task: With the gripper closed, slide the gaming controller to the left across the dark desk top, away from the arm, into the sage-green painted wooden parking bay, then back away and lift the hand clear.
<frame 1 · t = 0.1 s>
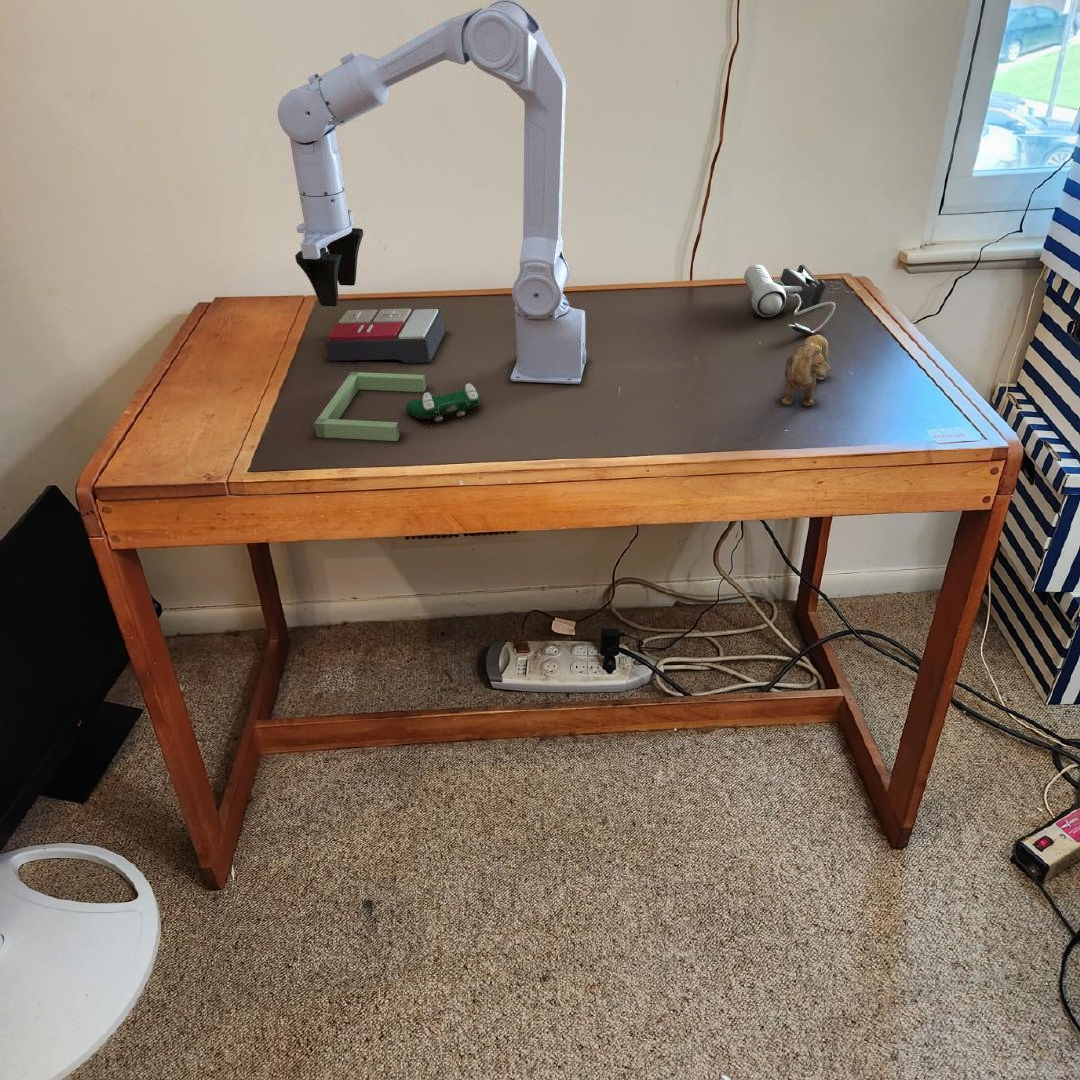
hand: (338, 294, 121), 10 cm above the table, tool pointing down, fingers open, 7 cm apart
lion figurine: (805, 396, 116), on the table
calculator: (388, 348, 132), on the table
gaming controller: (446, 416, 114), on the table
parking bay: (378, 412, 115), on the table
clip-on lamp: (789, 316, 138), on the table
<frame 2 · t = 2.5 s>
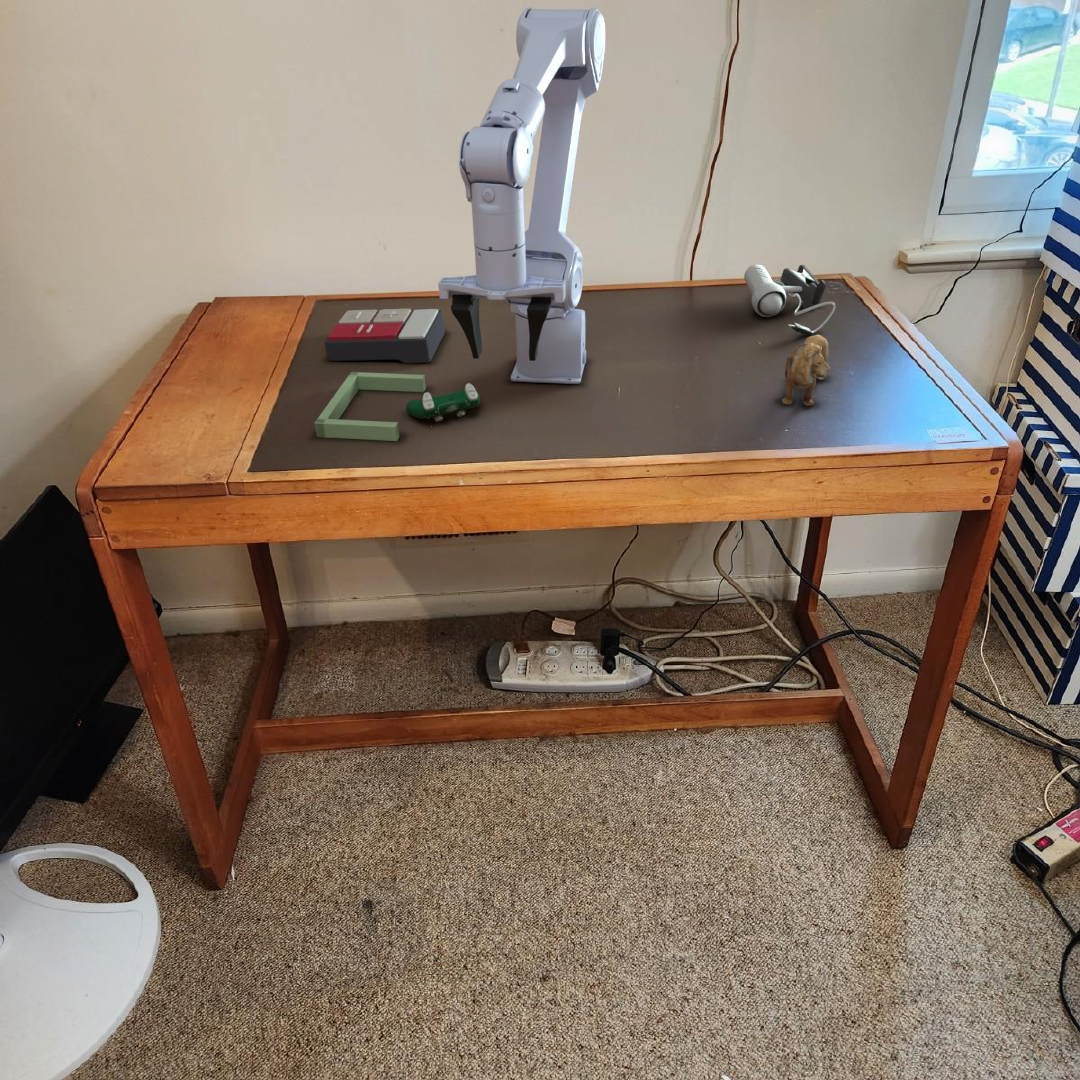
hand: (505, 356, 108), 8 cm above the table, tool pointing down, fingers open, 6 cm apart
nothing on the table moved.
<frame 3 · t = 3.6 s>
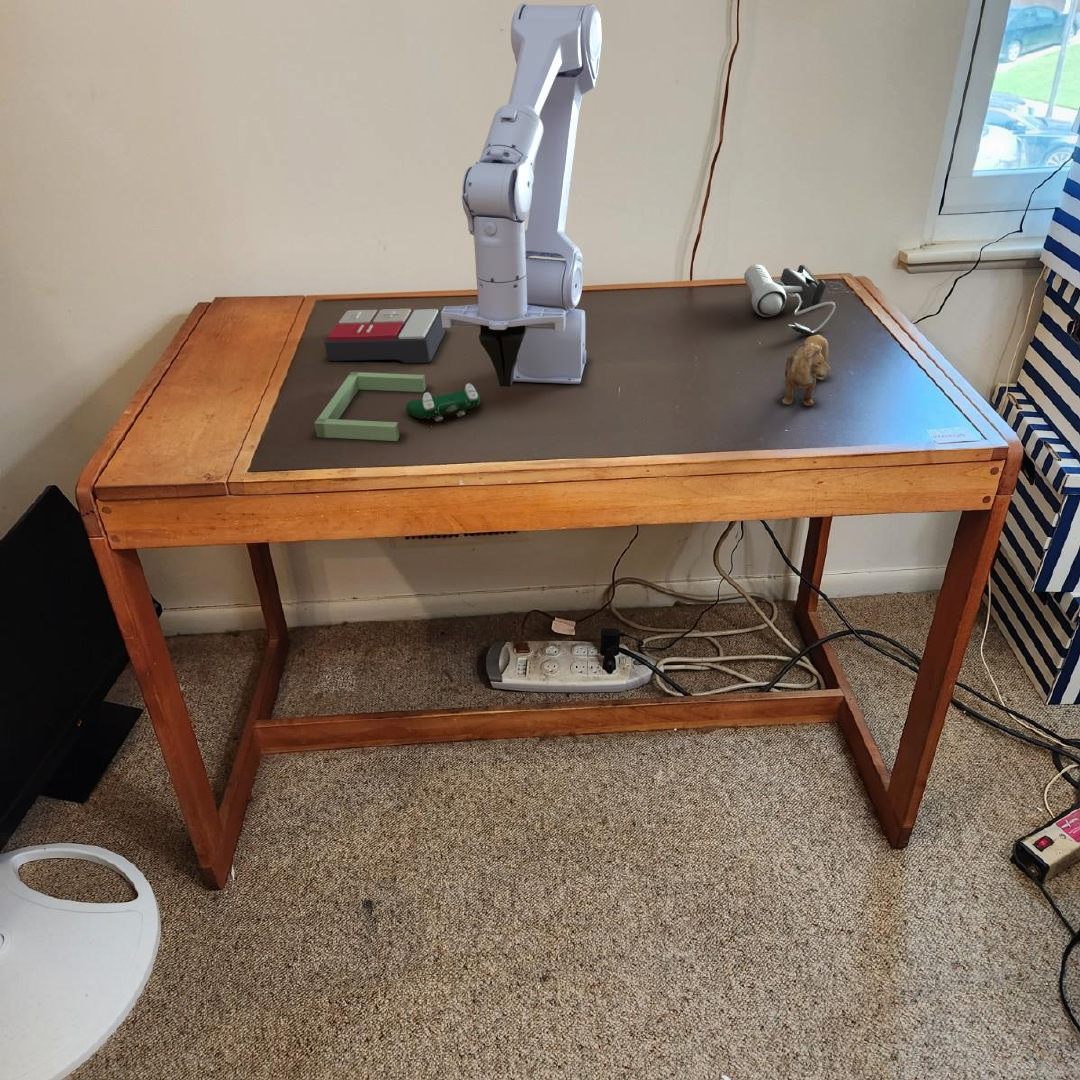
hand: (506, 383, 110), 5 cm above the table, tool pointing down, fingers closed
nothing on the table moved.
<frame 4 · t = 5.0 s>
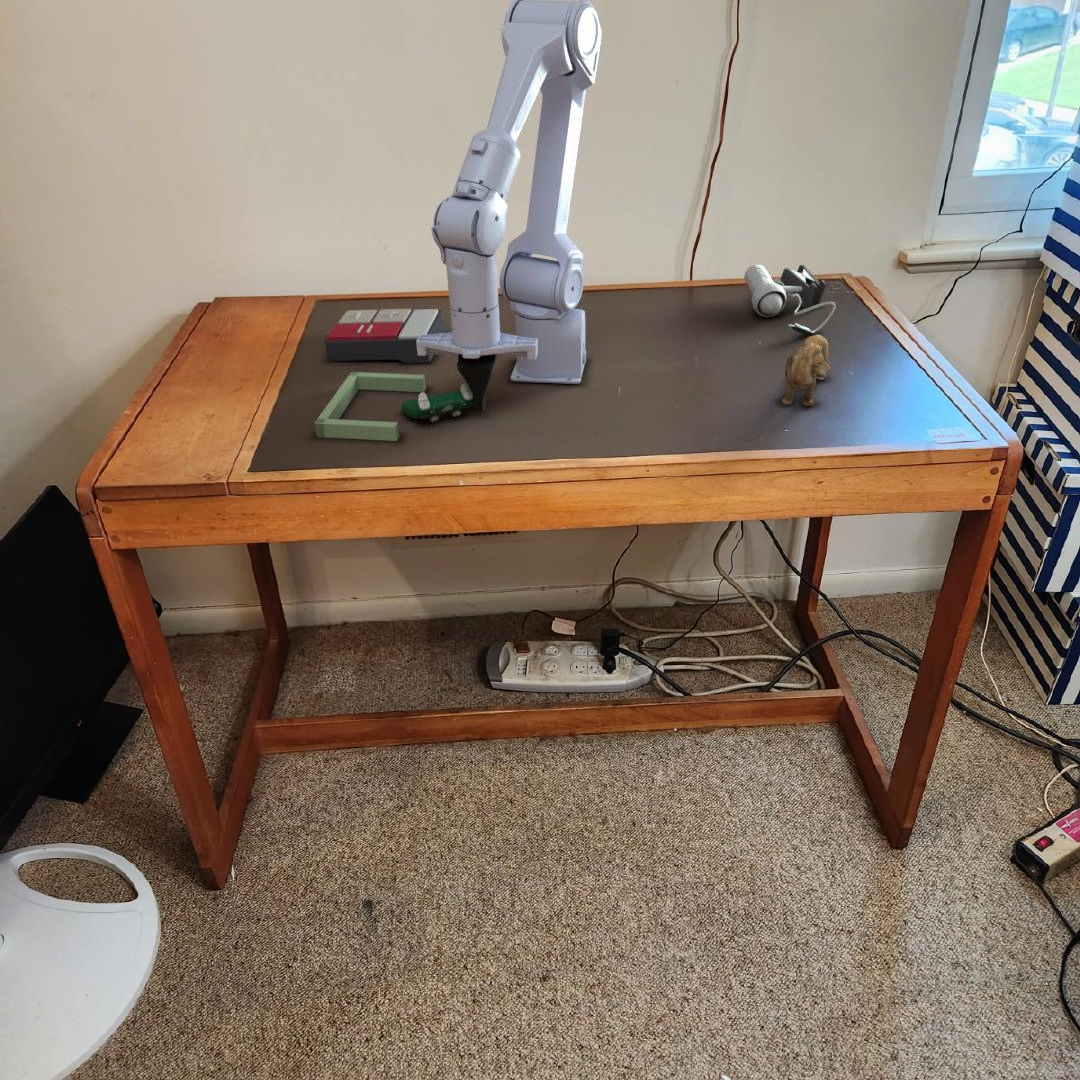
hand: (481, 408, 113), 1 cm above the table, tool pointing down, fingers closed
gaming controller: (442, 416, 114), on the table, touching gripper
everything else where it was.
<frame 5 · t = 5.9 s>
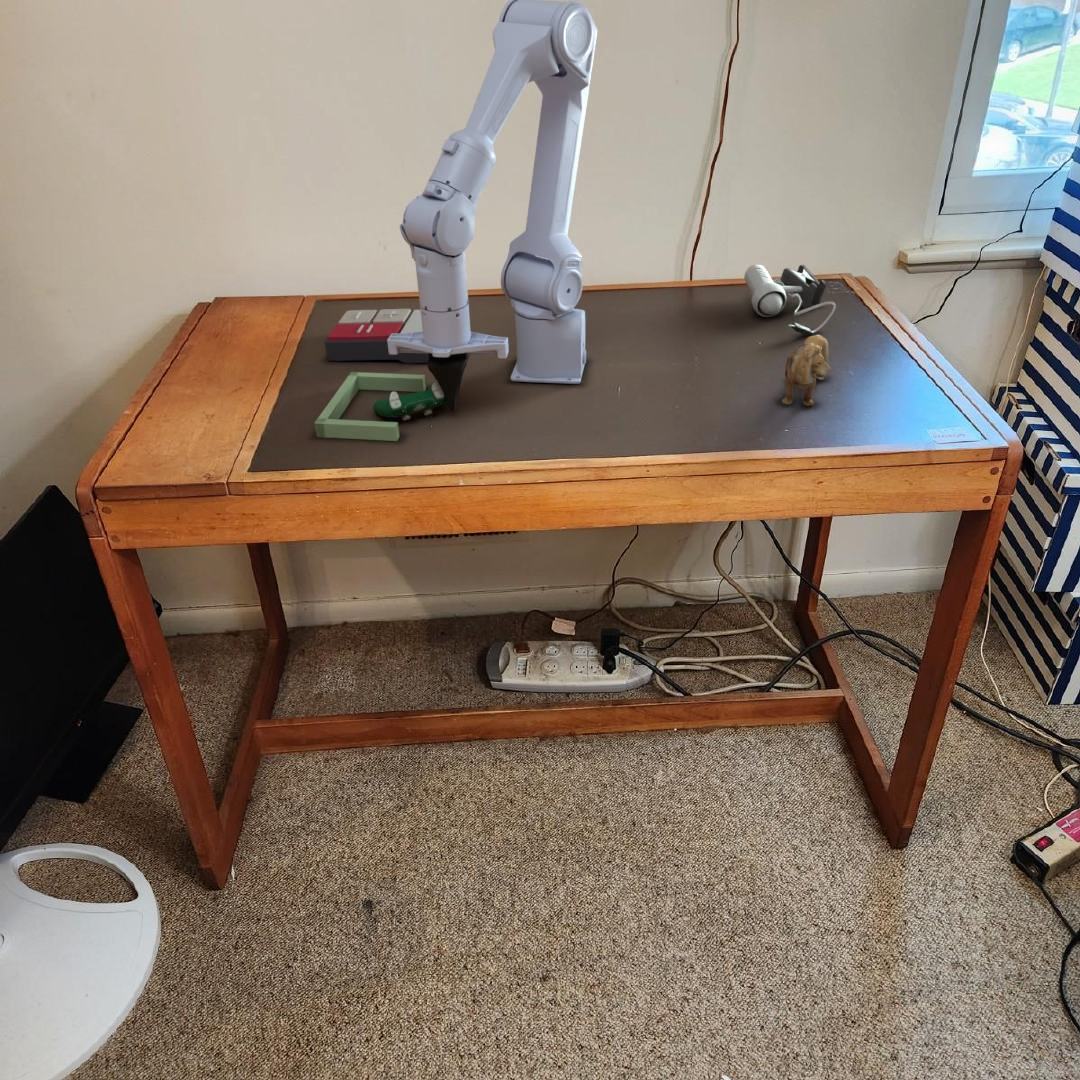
hand: (453, 407, 113), 1 cm above the table, tool pointing down, fingers closed
gaming controller: (414, 415, 115), on the table, touching gripper
everything else where it was.
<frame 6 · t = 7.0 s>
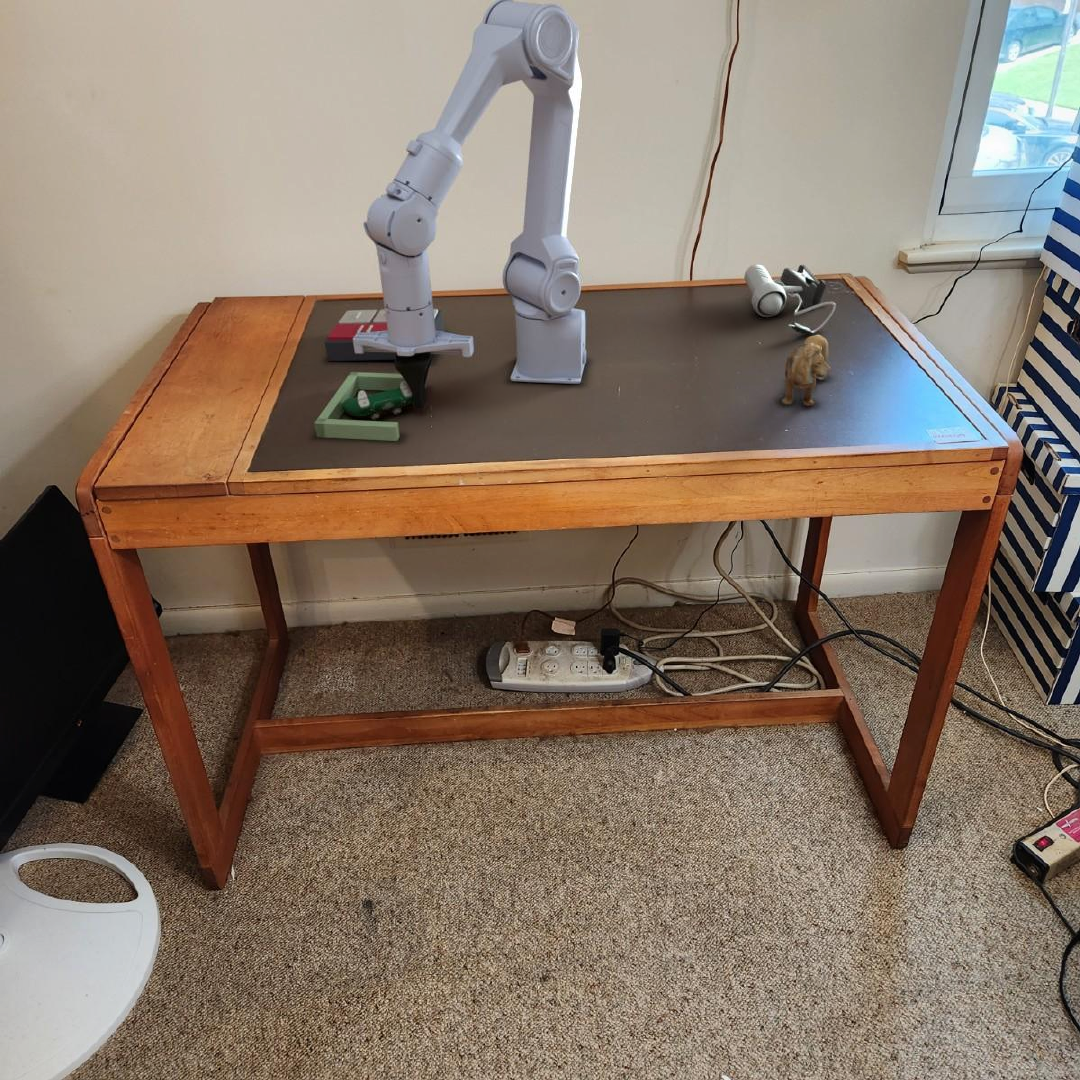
hand: (420, 405, 114), 1 cm above the table, tool pointing down, fingers closed, pressing on gaming controller
gaming controller: (383, 414, 115), on the table, touching gripper, parking bay
everything else where it was.
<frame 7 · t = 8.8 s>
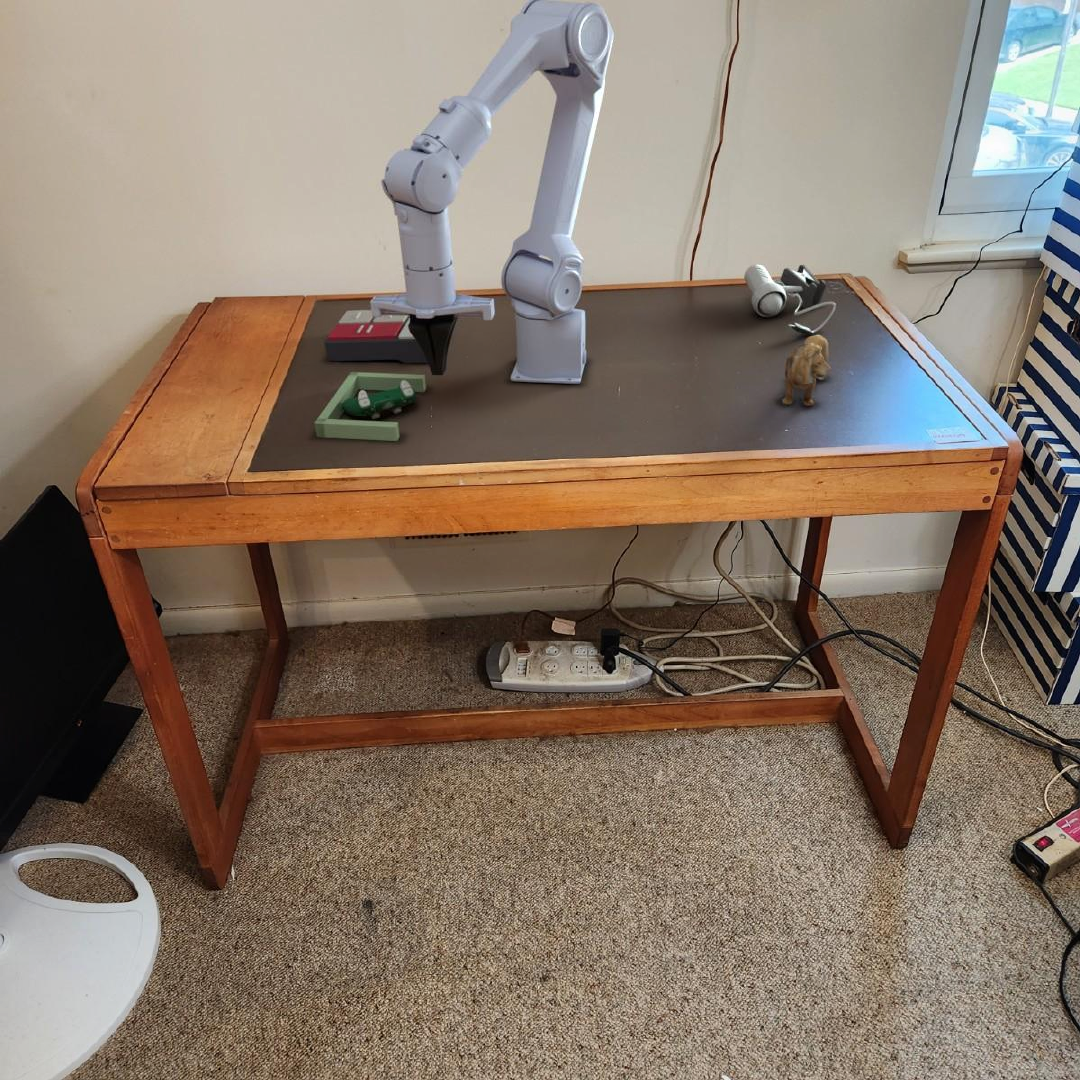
hand: (439, 371, 111), 6 cm above the table, tool pointing down, fingers closed
gaming controller: (383, 414, 115), on the table
everything else where it was.
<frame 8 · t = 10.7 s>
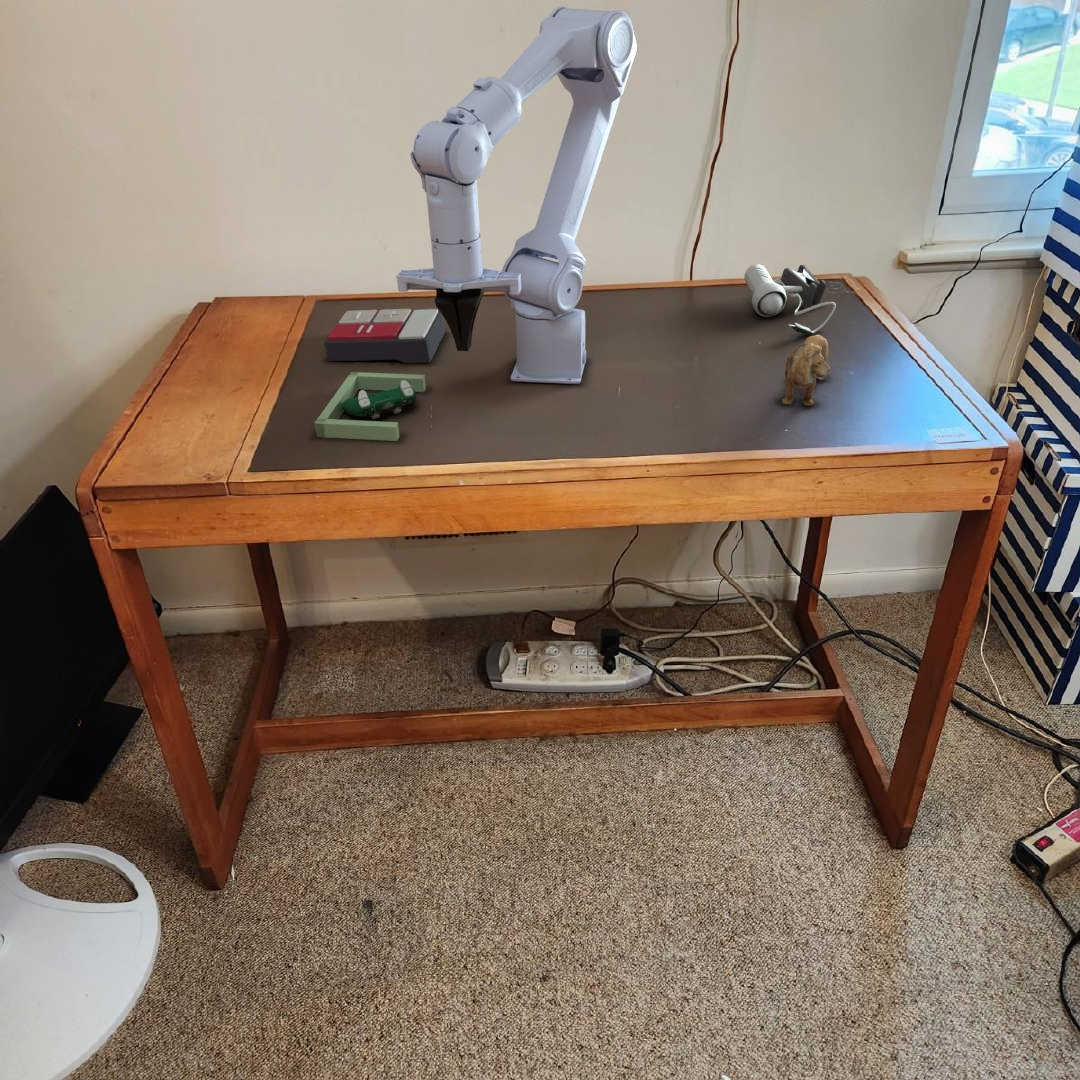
hand: (464, 347, 110), 8 cm above the table, tool pointing down, fingers closed
nothing on the table moved.
at the end: gaming controller inside the target area on the parking bay (2.0 cm from its centre), point 0.0 cm above the parking bay's base; gaming controller moved 8.3 cm from its start; gaming controller tilted 0° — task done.
